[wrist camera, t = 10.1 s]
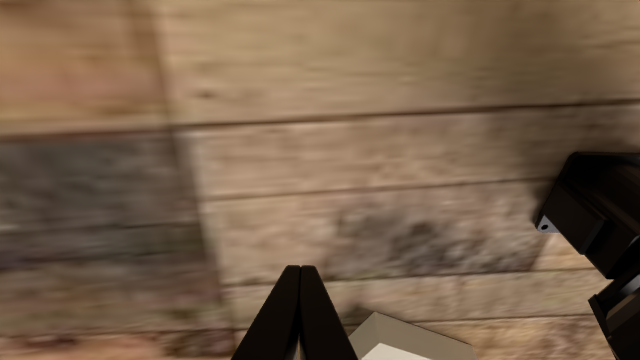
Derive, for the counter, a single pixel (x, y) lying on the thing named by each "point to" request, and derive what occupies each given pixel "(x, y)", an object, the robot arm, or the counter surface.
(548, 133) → the counter surface
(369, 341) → the door block
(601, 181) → the robot arm
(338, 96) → the counter surface
